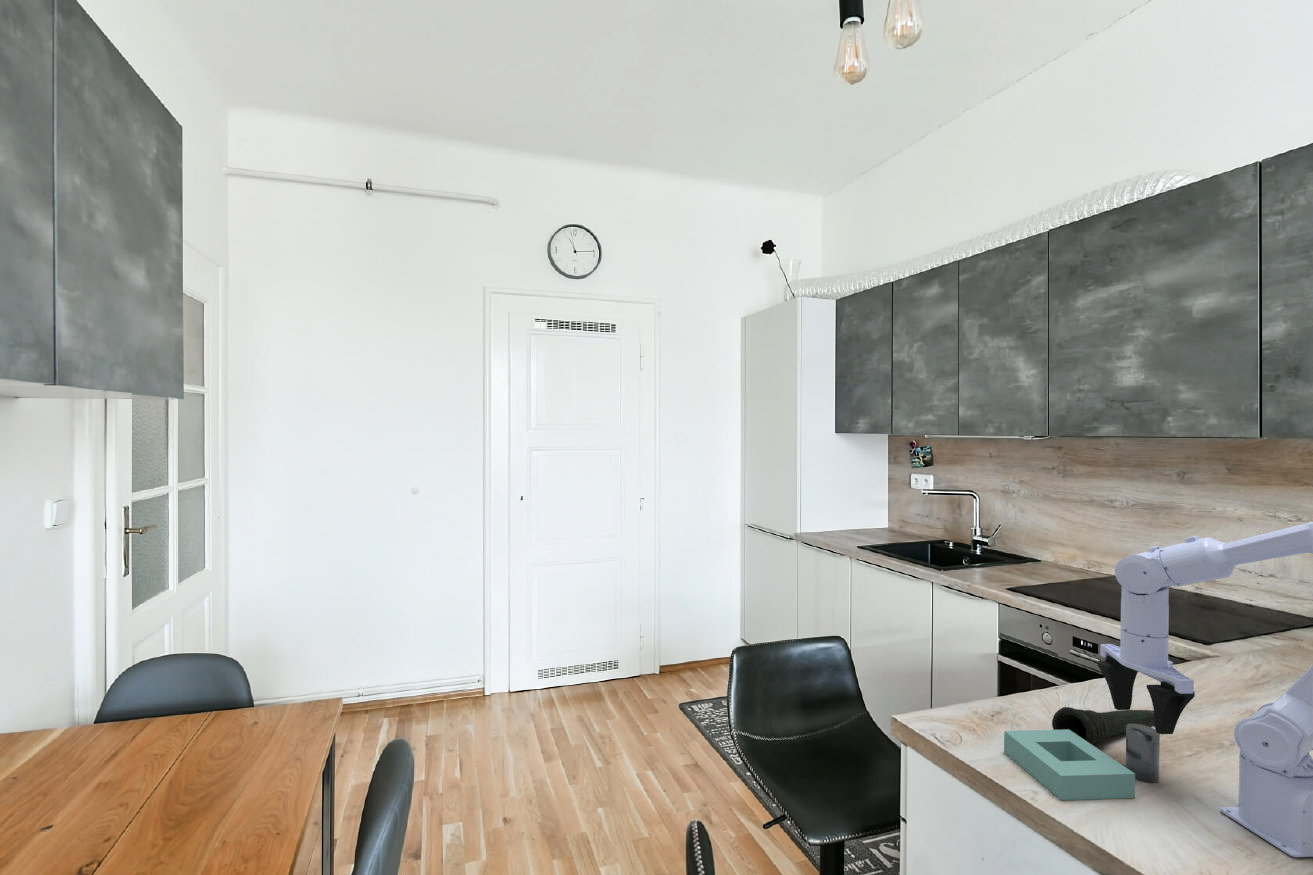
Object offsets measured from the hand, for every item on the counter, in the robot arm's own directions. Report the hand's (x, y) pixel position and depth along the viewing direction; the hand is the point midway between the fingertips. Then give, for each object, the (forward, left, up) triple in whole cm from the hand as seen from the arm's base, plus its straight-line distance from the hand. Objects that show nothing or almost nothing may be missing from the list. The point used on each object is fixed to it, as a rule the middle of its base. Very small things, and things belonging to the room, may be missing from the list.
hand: (1142, 720), depth 94 cm
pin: (0, 0, -8) cm, 8 cm away
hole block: (+1, +11, -8) cm, 14 cm away
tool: (+14, -7, -9) cm, 18 cm away
